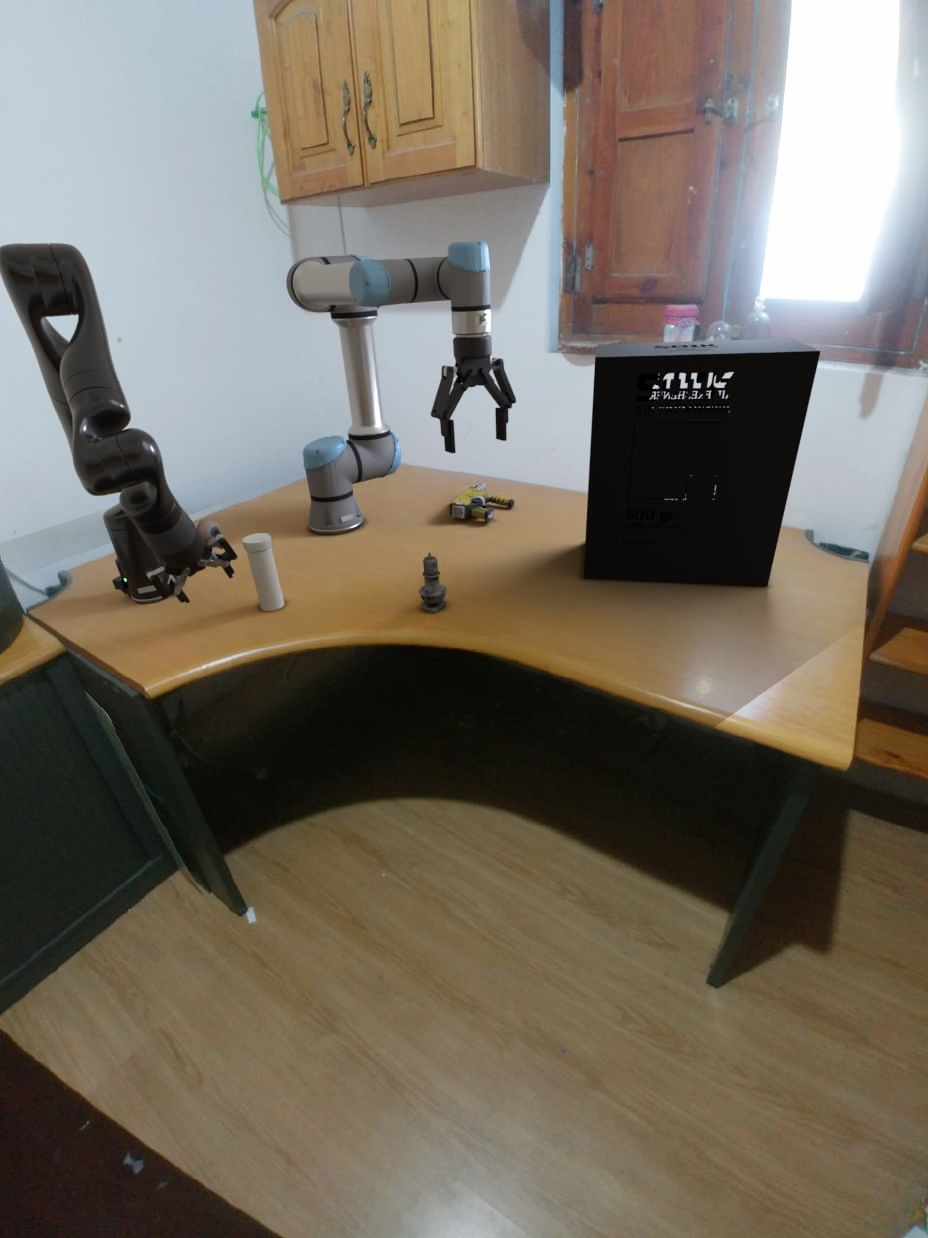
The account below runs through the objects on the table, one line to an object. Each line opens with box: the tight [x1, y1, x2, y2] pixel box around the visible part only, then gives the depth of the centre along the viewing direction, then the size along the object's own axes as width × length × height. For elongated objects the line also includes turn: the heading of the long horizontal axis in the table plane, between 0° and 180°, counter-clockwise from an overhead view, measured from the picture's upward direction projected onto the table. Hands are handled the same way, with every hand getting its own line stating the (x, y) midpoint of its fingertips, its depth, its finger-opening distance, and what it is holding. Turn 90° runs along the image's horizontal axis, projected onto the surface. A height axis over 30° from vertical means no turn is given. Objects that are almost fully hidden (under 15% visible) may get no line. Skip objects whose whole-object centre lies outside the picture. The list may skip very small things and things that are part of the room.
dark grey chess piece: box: [417, 551, 448, 613], centre depth 122 cm, size 6×6×12 cm
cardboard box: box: [583, 337, 821, 587], centre depth 126 cm, size 38×20×45 cm, turn 78°
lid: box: [242, 532, 273, 552], centre depth 122 cm, size 6×6×2 cm
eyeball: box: [196, 518, 222, 541], centre depth 162 cm, size 6×6×6 cm
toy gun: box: [448, 481, 515, 523], centre depth 173 cm, size 5×24×15 cm
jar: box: [246, 546, 285, 612], centre depth 126 cm, size 5×5×15 cm
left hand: (208, 587), depth 110 cm, fingers open, 8 cm apart
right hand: (476, 445), depth 127 cm, fingers open, 13 cm apart
